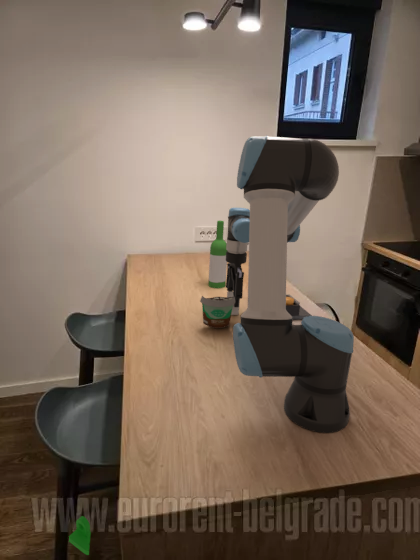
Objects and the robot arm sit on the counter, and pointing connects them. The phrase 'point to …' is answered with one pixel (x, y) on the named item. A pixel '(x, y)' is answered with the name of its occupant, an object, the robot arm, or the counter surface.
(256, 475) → the counter surface
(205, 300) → the food container
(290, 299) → the button
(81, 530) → the mechanical part
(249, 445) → the counter surface
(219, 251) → the wine bottle
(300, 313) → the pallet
